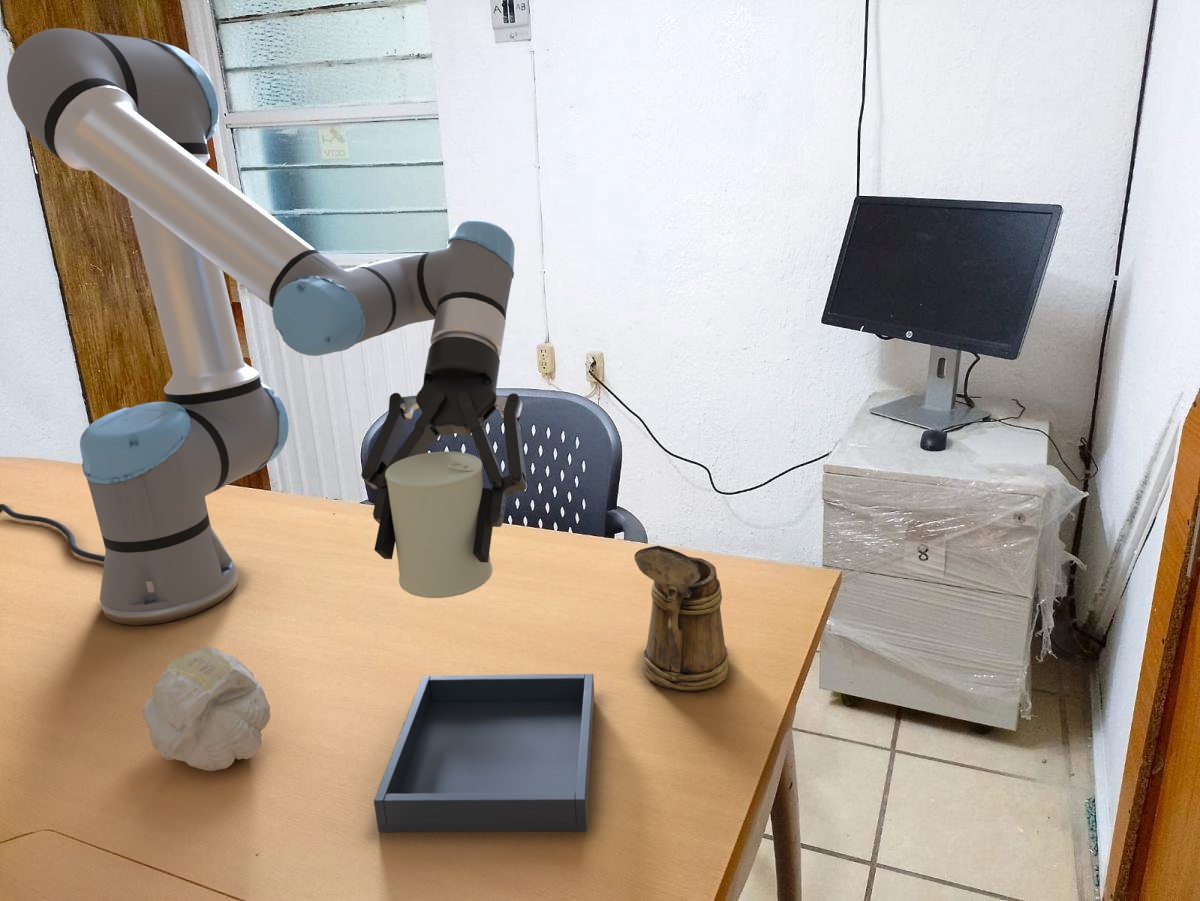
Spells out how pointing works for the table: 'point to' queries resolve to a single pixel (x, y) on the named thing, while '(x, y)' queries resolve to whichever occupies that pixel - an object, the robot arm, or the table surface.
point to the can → (437, 523)
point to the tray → (492, 756)
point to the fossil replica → (207, 710)
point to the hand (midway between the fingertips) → (431, 556)
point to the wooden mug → (683, 621)
